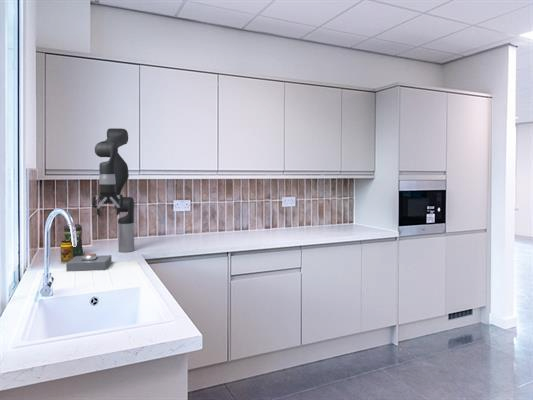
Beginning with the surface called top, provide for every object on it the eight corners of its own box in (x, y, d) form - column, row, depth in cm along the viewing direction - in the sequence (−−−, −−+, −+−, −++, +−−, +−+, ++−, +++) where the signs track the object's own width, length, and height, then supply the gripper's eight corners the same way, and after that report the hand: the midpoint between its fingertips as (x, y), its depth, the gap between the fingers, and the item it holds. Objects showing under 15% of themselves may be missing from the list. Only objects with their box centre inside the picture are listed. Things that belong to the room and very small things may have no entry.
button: (85, 260, 207) (85, 253, 207) (97, 260, 208) (97, 253, 208) (82, 263, 201) (81, 256, 201) (94, 263, 202) (94, 255, 202)
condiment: (61, 264, 210) (60, 241, 209) (58, 261, 217) (57, 239, 216) (76, 262, 215) (75, 240, 214) (72, 259, 221) (72, 237, 221)
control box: (75, 263, 211) (75, 256, 211) (111, 262, 214) (111, 255, 214) (66, 271, 195) (66, 263, 195) (105, 269, 199) (105, 262, 198)
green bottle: (81, 254, 234) (80, 223, 232) (84, 256, 227) (83, 224, 226) (63, 256, 228) (62, 224, 227) (65, 259, 222) (64, 226, 220)
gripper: (121, 182, 205) (122, 214, 206) (91, 183, 198) (92, 215, 199) (123, 183, 198) (124, 215, 199) (92, 183, 191) (93, 217, 193)
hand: (108, 215), depth 199 cm, fingers open, 8 cm apart
